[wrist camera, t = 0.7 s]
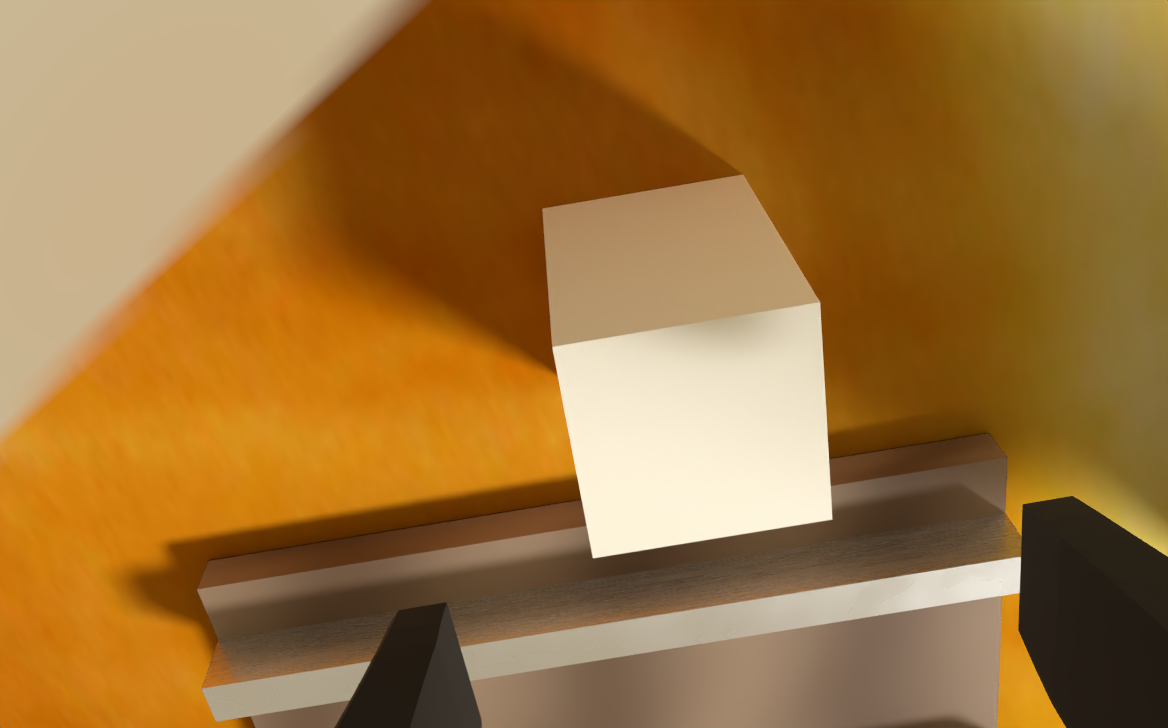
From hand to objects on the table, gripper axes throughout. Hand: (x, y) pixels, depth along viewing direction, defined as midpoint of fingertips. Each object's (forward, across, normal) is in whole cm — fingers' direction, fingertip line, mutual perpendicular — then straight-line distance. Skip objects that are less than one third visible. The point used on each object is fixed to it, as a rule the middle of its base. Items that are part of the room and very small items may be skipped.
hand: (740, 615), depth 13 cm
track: (+10, +2, +10) cm, 14 cm away
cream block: (+10, 0, 0) cm, 10 cm away
